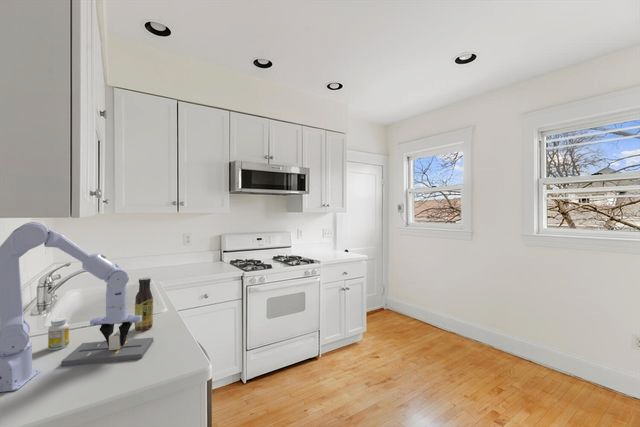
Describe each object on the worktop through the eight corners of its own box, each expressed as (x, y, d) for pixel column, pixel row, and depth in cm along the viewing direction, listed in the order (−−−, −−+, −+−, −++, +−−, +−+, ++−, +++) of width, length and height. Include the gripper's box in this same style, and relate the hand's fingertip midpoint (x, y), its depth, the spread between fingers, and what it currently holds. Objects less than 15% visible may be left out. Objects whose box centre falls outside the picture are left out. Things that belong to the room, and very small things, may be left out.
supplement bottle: (53, 352, 99) (53, 323, 99) (45, 348, 101) (44, 320, 101) (72, 345, 104) (72, 318, 104) (63, 342, 106) (63, 315, 106)
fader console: (141, 358, 96) (141, 353, 96) (61, 366, 91) (61, 360, 91) (153, 341, 108) (153, 337, 107) (82, 347, 102) (82, 342, 102)
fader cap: (119, 349, 98) (119, 335, 98) (108, 350, 97) (108, 336, 97) (124, 343, 102) (124, 330, 102) (114, 344, 101) (114, 331, 101)
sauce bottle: (144, 332, 115) (144, 281, 114) (130, 330, 116) (130, 280, 115) (157, 325, 121) (156, 277, 120) (143, 324, 122) (143, 276, 122)
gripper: (144, 299, 105) (145, 337, 105) (97, 302, 101) (97, 341, 102) (137, 306, 98) (137, 347, 98) (86, 309, 94) (86, 351, 95)
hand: (116, 345), depth 99 cm, fingers closed on fader cap, 3 cm apart
